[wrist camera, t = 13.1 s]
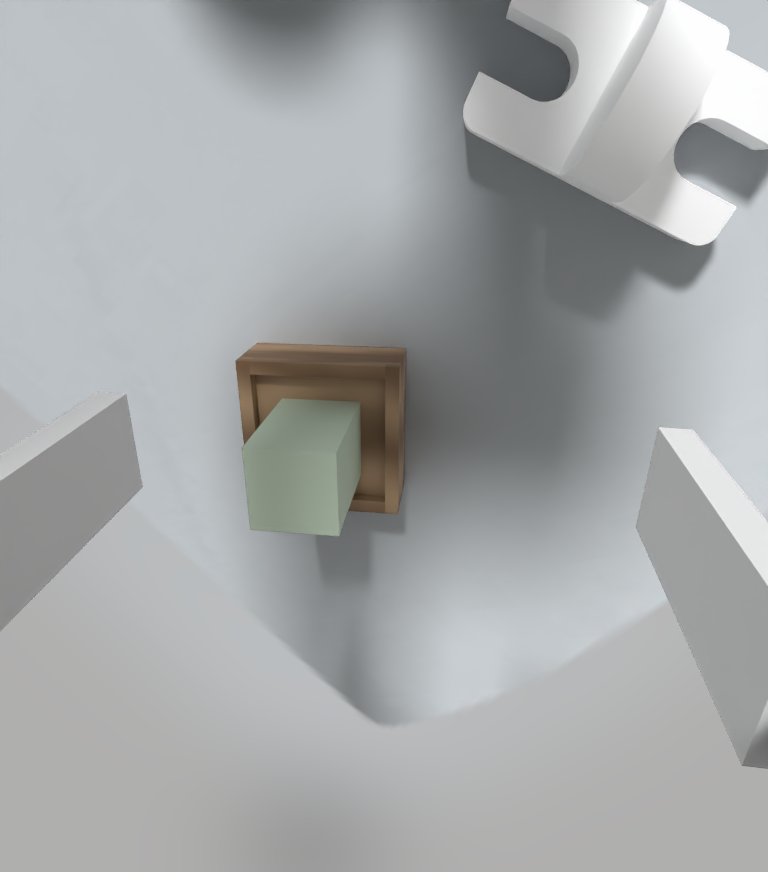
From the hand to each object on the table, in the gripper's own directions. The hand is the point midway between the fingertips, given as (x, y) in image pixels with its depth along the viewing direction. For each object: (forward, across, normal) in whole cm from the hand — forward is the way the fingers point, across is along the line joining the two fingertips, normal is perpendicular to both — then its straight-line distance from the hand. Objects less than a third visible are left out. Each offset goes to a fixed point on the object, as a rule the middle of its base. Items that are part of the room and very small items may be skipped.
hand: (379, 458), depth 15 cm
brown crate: (+32, -8, -13) cm, 36 cm away
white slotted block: (+33, +11, +9) cm, 36 cm away
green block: (+28, -8, -13) cm, 32 cm away
